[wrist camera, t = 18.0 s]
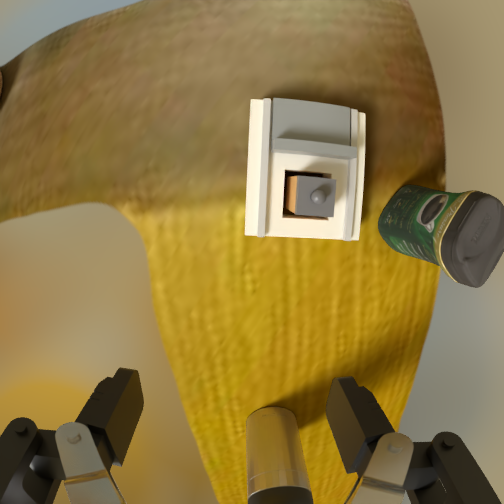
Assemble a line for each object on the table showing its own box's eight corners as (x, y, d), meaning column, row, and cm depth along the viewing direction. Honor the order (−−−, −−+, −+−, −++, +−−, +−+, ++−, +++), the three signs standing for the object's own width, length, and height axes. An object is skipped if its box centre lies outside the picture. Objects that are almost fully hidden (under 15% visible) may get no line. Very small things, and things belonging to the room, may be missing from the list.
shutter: (346, 159, 31) (356, 157, 28) (270, 152, 31) (273, 149, 28) (347, 109, 30) (357, 102, 26) (273, 99, 29) (276, 91, 26)
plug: (315, 209, 37) (337, 218, 28) (285, 207, 37) (298, 216, 28) (317, 179, 36) (340, 179, 27) (287, 177, 36) (301, 175, 27)
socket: (347, 234, 38) (361, 241, 33) (244, 229, 37) (244, 236, 32) (353, 119, 34) (367, 112, 29) (250, 107, 33) (251, 97, 29)
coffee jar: (400, 259, 39) (481, 307, 21) (367, 225, 37) (451, 260, 19) (435, 211, 37) (524, 234, 19) (405, 175, 36) (499, 179, 18)
